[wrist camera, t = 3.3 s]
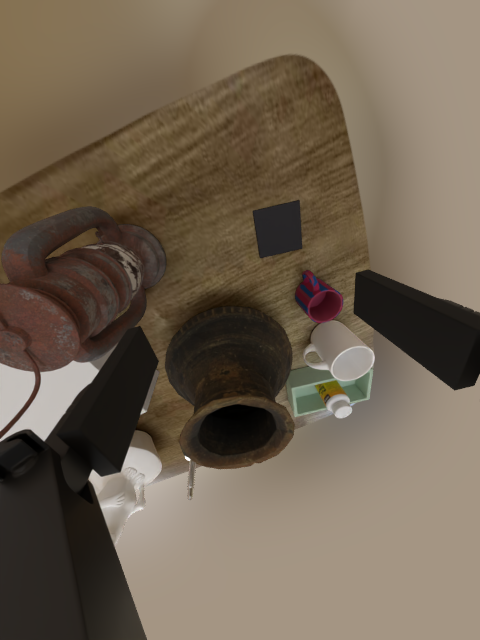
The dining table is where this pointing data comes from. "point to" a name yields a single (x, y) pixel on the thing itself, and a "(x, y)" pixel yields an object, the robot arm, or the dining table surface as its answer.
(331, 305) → the cup
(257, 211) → the coaster
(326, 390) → the supplement bottle
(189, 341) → the ceramic pot
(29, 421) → the box
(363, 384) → the bin
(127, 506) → the white sculpted figure
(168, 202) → the dining table surface
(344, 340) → the mug
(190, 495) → the screw
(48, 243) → the lantern
